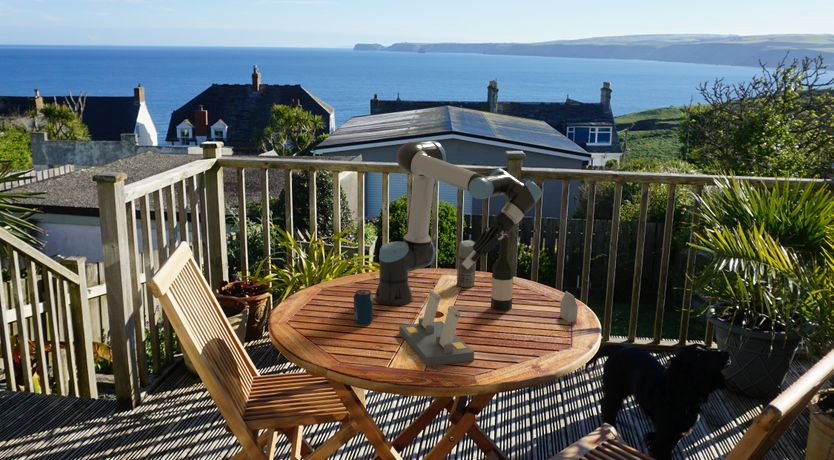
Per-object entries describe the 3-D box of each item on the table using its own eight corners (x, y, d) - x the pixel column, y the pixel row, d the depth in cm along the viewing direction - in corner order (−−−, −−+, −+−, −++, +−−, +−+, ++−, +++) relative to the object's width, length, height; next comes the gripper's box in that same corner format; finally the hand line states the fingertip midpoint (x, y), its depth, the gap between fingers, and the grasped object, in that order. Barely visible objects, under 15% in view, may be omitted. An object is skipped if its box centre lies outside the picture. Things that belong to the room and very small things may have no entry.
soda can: (375, 321, 254) (376, 290, 251) (366, 327, 248) (367, 295, 245) (359, 318, 257) (359, 288, 254) (350, 324, 250) (350, 293, 248)
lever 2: (443, 343, 225) (454, 306, 223) (450, 350, 219) (461, 312, 218) (438, 342, 224) (448, 305, 222) (444, 349, 218) (455, 311, 217)
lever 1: (425, 325, 241) (435, 290, 240) (431, 330, 236) (441, 295, 234) (420, 324, 241) (430, 289, 239) (426, 330, 235) (436, 294, 234)
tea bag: (567, 322, 257) (569, 296, 254) (559, 316, 263) (561, 291, 261) (576, 321, 257) (578, 296, 255) (568, 315, 264) (570, 290, 262)
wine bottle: (511, 304, 276) (514, 232, 269) (512, 311, 267) (515, 237, 261) (490, 303, 276) (493, 231, 270) (490, 310, 268) (493, 236, 262)
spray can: (477, 283, 303) (479, 240, 299) (472, 288, 296) (474, 244, 291) (459, 281, 306) (460, 238, 302) (454, 286, 298) (455, 242, 294)
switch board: (441, 328, 247) (441, 314, 246) (473, 360, 219) (474, 344, 218) (399, 333, 242) (399, 318, 241) (427, 366, 214) (427, 349, 213)
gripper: (523, 228, 240) (479, 277, 238) (506, 221, 252) (464, 268, 250) (510, 214, 238) (465, 264, 236) (493, 208, 250) (451, 255, 248)
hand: (464, 266), depth 243 cm, fingers closed
